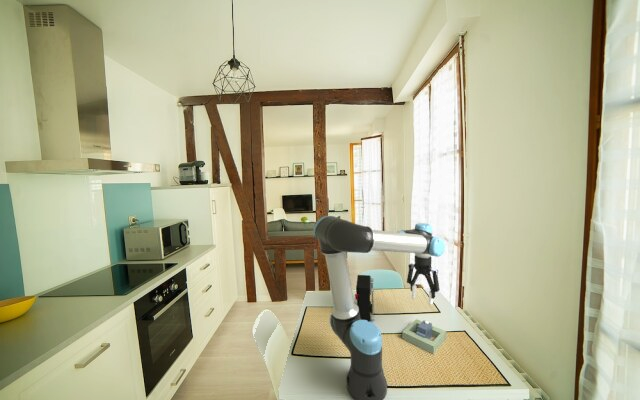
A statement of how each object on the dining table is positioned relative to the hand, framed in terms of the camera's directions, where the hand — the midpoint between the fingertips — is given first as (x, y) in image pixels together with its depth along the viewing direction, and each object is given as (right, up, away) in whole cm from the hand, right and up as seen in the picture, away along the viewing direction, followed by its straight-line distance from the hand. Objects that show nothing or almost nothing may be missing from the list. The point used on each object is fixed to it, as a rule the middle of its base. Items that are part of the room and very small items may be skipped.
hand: (422, 300), depth 119 cm
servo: (+1, -18, 0) cm, 19 cm away
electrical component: (-24, -17, +22) cm, 37 cm away
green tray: (+1, -18, 0) cm, 18 cm away
